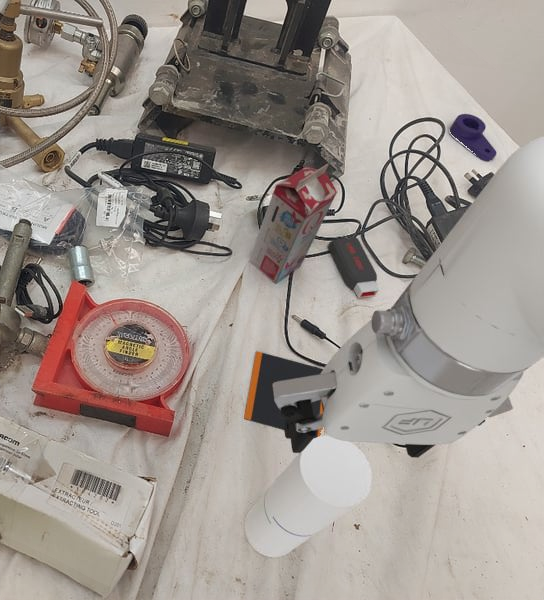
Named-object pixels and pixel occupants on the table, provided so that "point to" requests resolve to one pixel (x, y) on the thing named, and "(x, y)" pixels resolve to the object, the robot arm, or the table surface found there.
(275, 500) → the cylindrical container
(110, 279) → the table surface
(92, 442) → the table surface
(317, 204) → the juice carton
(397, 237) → the table surface
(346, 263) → the usb drive
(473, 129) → the lever
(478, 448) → the table surface
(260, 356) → the mat
